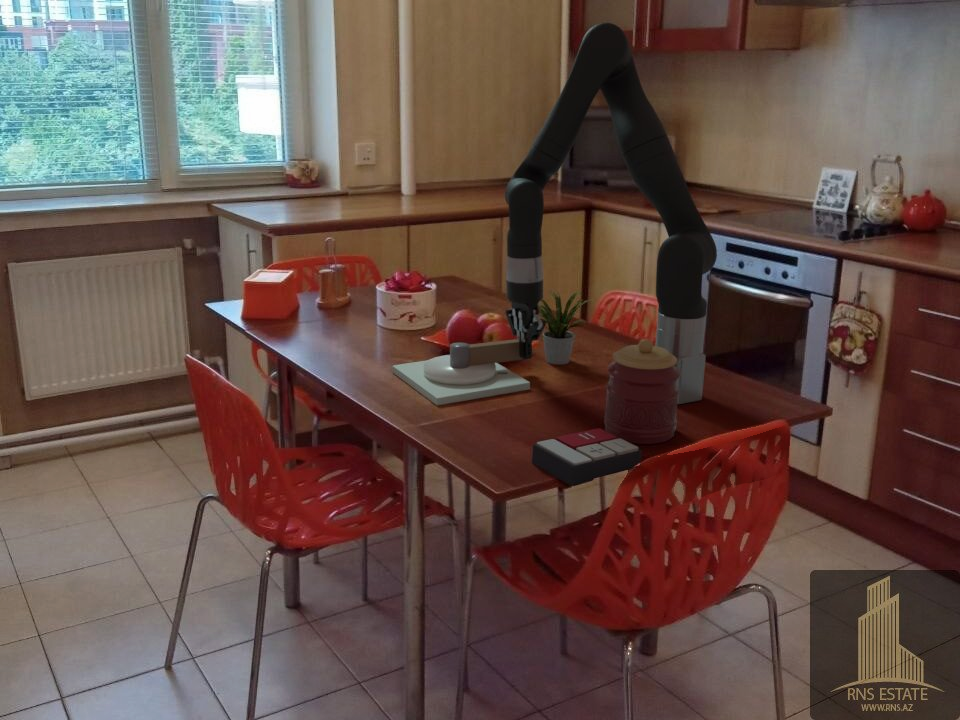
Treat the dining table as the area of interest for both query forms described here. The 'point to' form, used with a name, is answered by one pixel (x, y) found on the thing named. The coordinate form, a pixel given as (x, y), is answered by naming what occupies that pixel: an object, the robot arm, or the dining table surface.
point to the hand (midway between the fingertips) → (525, 357)
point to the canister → (642, 394)
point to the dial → (471, 362)
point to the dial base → (456, 393)
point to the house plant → (559, 330)
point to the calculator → (585, 456)
